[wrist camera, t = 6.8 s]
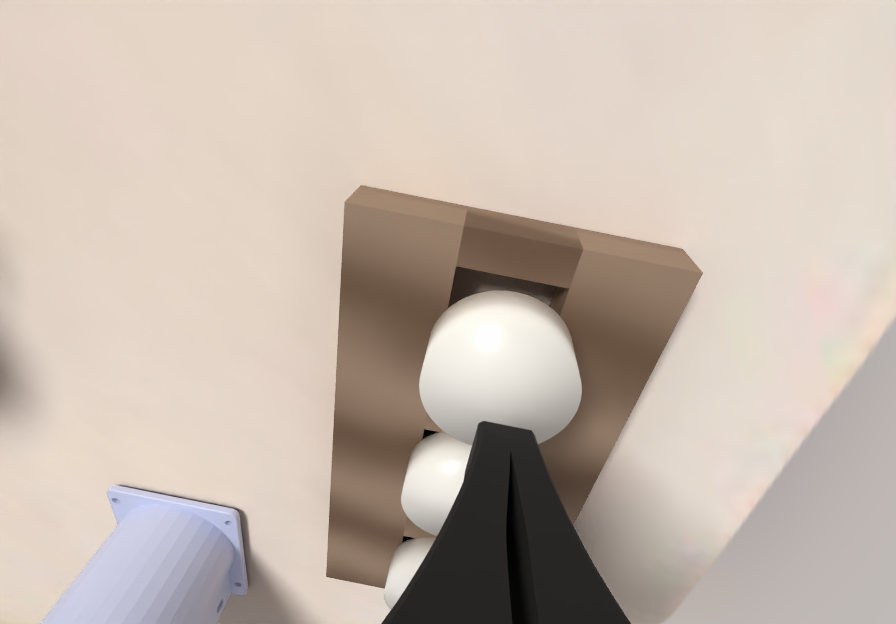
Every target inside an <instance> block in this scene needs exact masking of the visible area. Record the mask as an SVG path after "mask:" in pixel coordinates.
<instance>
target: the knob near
mask: <svg viewBox="0 0 896 624" xmlns="http://www.w3.org/2000/svg"><path fill="white" fill-rule="evenodd" d="M419 391H420V397H421V401H422V403H423V406H424V408H425V410H426V412H427V413H428V415H429V417H430V418H431V419H432V420H433V422H434V423H435V424H436V425H437V426H438V427H439V428H440V429H442V430H443V431H444V432H446V433H447V434H448V435H450V436H452V437H453V438H455V439H457V440H459V441H461V442H463V443H466V444H469V445H472V444H473V441H474V437H475V434H476V430H477V426H478V423H480V422H482V421H487V422H492V423H498V424H503V425H508V426H513V427H518V428H523V429H528V430H532V432H533V433H534V435H535V437H536V440H537V443H538V444H540V443H542V442H544V441H546V440H548V439H550V438H552V437H553V436H555V435H556V434H558V433H559V432H560V431H562V430H563V429H564V428H565V427H566V426H567V425H568V424H569V423H570V421H571V420H572V419H573V417H574V416H575V414H576V412H577V410H578V407H579V404H580V401H581V395H582V384H581V379H580V374H579V369H578V365H577V361H576V356H575V352H574V347H573V343H572V338H571V335H570V332H569V330H568V328H567V326H566V324H565V322H564V321H563V320H562V318H561V317H560V316H559V315H558V314H557V313H556V312H555V311H554V310H553V309H552V308H551V307H549V306H548V305H546V304H545V303H543V302H542V301H540V300H538V299H536V298H534V297H531V296H529V295H526V294H522V293H518V292H512V291H486V292H482V293H477V294H474V295H471V296H468V297H466V298H464V299H462V300H459V301H458V302H456V303H455V304H453V305H452V306H450V307H449V308H448V309H447V310H446V311H445V312H444V313H443V314H442V315H441V316H440V317H439V318H438V320H437V322H436V323H435V325H434V327H433V329H432V331H431V335H430V338H429V342H428V346H427V351H426V355H425V359H424V363H423V367H422V371H421V375H420V381H419Z"/></svg>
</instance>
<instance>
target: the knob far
mask: <svg viewBox="0 0 896 624" xmlns="http://www.w3.org/2000/svg"><path fill="white" fill-rule="evenodd" d="M435 539H436V538H431V537H423V538H414V539H411V540H408V541H405V542H403V543H401V544H400V545H399V546H397V547H396V549H395V550H394V552H393V554H392V558H391V563H390V567H389V572H388V577H387V581H386V586H385V591H384V600H385V602H386V604H387V606H388V607H389V608H390V609H392V608H393V607H394V605H395V604H396V602H397V601H398V599H399V598H400V596H401V595H402V593H403V592H404V590H405V589H406V587H407V586H408V584H409V583H410V581H411V579H412V578H413V576H414V575H415V573H416V571H417V570H418V568H419V566H420V565H421V563H422V561H423V560H424V558H425V557H426V555H427V553H428V551H429V550H430V548H431V546H432V544H433V543H434V541H435Z"/></svg>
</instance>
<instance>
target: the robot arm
mask: <svg viewBox="0 0 896 624" xmlns="http://www.w3.org/2000/svg"><path fill="white" fill-rule="evenodd" d="M107 496H108V498H109V501H110V504H111V507H112V510H113V513H114V515H115V518H116V521H117V524H118V526H117V527H116V528H115V529H114V531H113V532H112V533H111V534H110V536H109V537H108V538H107V539H106V541H105V542H104V543H103V544H102V546H101V547H100V548H99V550H98V551H97V552H96V553H95V555H94V556H93V557H92V558H91V560H90V561H89V562H88V563H87V565H86V566H85V567H84V568H83V570H82V571H81V572H80V574H79V575H78V576H77V577H76V579H75V580H74V581H73V582H72V584H71V585H70V586H69V587H68V589H67V590H66V591H65V592H64V594H63V595H62V596H61V598H60V599H59V600H58V601H57V603H56V604H55V605H54V606H53V608H52V609H51V610H50V611H49V613H48V614H47V615H46V616H45V618H44V619H43V620H42V622H41V623H40V624H217V622H218V620H219V618H220V616H221V614H222V612H223V610H224V608H225V605H226V603H227V601H228V599H229V597H230V595H231V594H234V595H240V596H243V595H245V594H246V593H247V591H248V582H247V573H246V565H245V556H244V548H243V540H242V531H241V523H240V515H239V513H238V511H236V510H235V509H232V508H228V507H223V506H218V505H213V504H208V503H203V502H198V501H193V500H188V499H183V498H178V497H173V496H168V495H163V494H158V493H153V492H148V491H143V490H138V489H133V488H128V487H123V486H118V485H113V486H111V487H110V488H109V490H108V491H107ZM382 624H631V623H630V622H629V620H628V619H627V617H626V616H625V614H624V612H623V611H622V609H621V608H620V606H619V605H618V603H617V602H616V600H615V599H614V597H613V595H612V594H611V592H610V591H609V589H608V587H607V586H606V584H605V582H604V581H603V579H602V577H601V576H600V574H599V573H598V571H597V569H596V567H595V566H594V564H593V562H592V560H591V559H590V557H589V555H588V553H587V551H586V550H585V548H584V546H583V544H582V542H581V540H580V538H579V536H578V534H577V532H576V531H575V529H574V527H573V525H572V523H571V521H570V519H569V517H568V514H567V512H566V510H565V508H564V506H563V504H562V502H561V499H560V497H559V495H558V493H557V491H556V488H555V486H554V484H553V482H552V479H551V477H550V474H549V472H548V469H547V467H546V465H545V462H544V459H543V457H542V454H541V452H540V449H539V446H538V443H537V440H536V437H535V435H534V433H533V432H532V430H528V429H523V428H518V427H513V426H508V425H503V424H498V423H492V422H487V421H482V422H480V423H478V426H477V430H476V434H475V437H474V441H473V444H472V448H471V451H470V455H469V458H468V462H467V466H466V469H465V475H464V481H463V483H462V486H461V488H460V491H459V493H458V495H457V497H456V499H455V501H454V504H453V506H452V508H451V510H450V512H449V514H448V516H447V518H446V520H445V522H444V524H443V526H442V528H441V530H440V532H439V533H438V535H437V537H436V539H435V541H434V543H433V544H432V546H431V548H430V550H429V551H428V553H427V555H426V557H425V558H424V560H423V561H422V563H421V565H420V566H419V568H418V570H417V571H416V573H415V575H414V576H413V578H412V579H411V581H410V583H409V584H408V586H407V587H406V589H405V590H404V592H403V593H402V595H401V596H400V598H399V599H398V601H397V602H396V604H395V605H394V607H393V608H392V609H391V611H390V612H389V614H388V615H387V617H386V618H385V619H384V621H383V622H382Z"/></svg>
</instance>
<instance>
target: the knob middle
mask: <svg viewBox="0 0 896 624" xmlns="http://www.w3.org/2000/svg"><path fill="white" fill-rule="evenodd" d="M471 448H472V445H469V444H466V443H463V442H461V441H459V440H457V439H455V438H453V437H452V436H450V435H448V434H447V433H446V432H444V431H442V432H436V433H435V434H432V435H430V436H428V437H426V438H424V439H423V440H421V441H420V442H419V443H418V444H417V445H416V446H415V447H414V449H413V450H412V452H411V455H410V459H409V463H408V468H407V472H406V477H405V481H404V485H403V490H402V494H401V504H402V507H403V510H404V512H405V514H406V515H407V517H408V518H409V519H410V520H411V521H412V522H413V523H414V524H415V525H416V526H418V527H419V528H421V529H422V530H424V531H426V532H428V533H430V534H432V535H435V536H437V535H438V533H439V532H440V530H441V528H442V526H443V524H444V522H445V520H446V518H447V516H448V514H449V512H450V510H451V508H452V506H453V504H454V501H455V499H456V497H457V495H458V493H459V491H460V488H461V486H462V483H463V481H464V475H465V469H466V466H467V462H468V458H469V455H470V451H471Z"/></svg>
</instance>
